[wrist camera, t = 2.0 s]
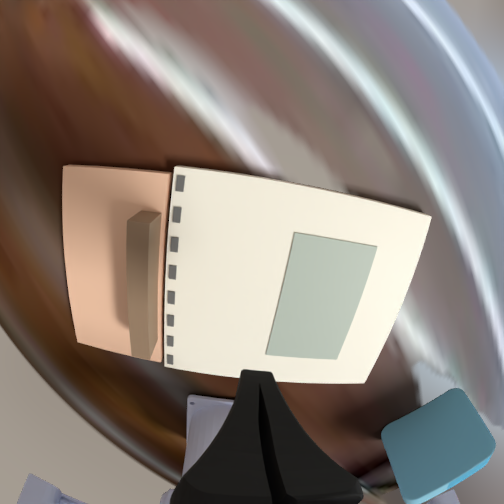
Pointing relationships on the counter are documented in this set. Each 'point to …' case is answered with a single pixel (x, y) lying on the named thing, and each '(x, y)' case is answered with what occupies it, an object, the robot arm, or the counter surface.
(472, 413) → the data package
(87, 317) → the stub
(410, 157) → the counter surface
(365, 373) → the board
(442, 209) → the counter surface
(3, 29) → the counter surface
